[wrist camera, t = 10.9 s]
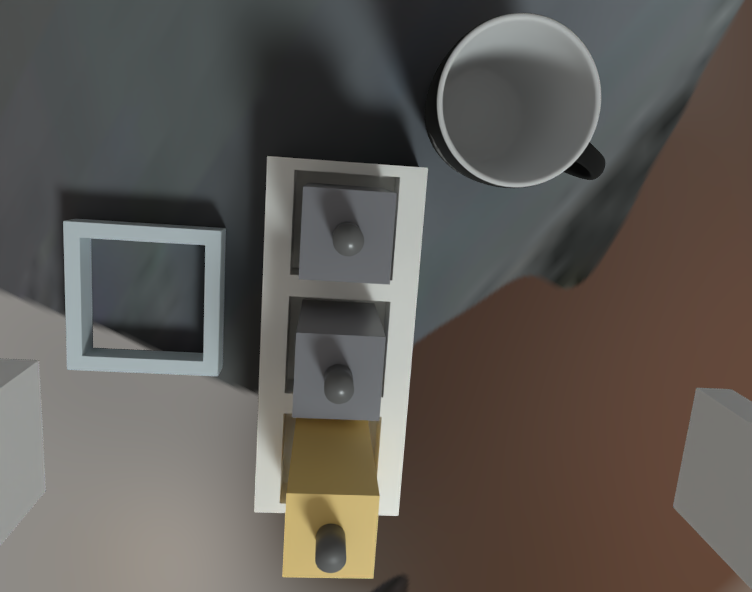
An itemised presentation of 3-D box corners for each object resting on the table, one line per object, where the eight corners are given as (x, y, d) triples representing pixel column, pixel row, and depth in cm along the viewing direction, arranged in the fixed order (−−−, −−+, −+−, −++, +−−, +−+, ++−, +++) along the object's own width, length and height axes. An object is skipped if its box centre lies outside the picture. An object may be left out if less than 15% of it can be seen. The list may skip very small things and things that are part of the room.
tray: (75, 218, 42) (63, 221, 40) (226, 228, 43) (221, 230, 41) (78, 360, 44) (67, 369, 42) (222, 367, 45) (217, 376, 43)
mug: (386, 141, 43) (404, 134, 33) (454, 21, 42) (493, -25, 32) (531, 228, 45) (589, 245, 35) (600, 115, 44) (680, 100, 34)
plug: (297, 408, 45) (283, 513, 32) (366, 411, 46) (382, 515, 32) (294, 473, 46) (279, 601, 32) (362, 475, 47) (376, 602, 33)
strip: (272, 157, 43) (251, 153, 31) (418, 167, 43) (452, 167, 32) (260, 483, 47) (237, 588, 35) (392, 487, 48) (413, 590, 36)
